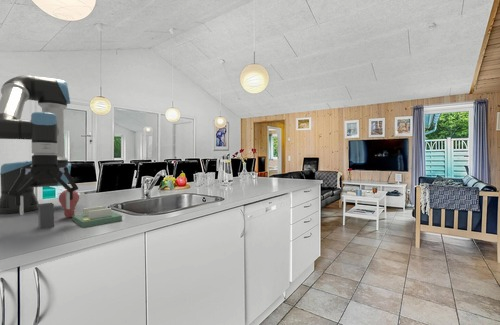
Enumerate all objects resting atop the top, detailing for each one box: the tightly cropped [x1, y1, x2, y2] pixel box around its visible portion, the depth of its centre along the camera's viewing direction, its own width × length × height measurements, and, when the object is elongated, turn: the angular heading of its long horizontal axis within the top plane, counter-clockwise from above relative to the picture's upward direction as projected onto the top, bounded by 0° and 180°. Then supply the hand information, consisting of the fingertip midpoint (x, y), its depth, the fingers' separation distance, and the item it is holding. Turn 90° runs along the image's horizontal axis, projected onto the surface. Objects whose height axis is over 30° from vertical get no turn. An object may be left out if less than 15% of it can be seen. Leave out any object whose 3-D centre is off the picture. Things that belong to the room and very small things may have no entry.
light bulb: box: [58, 189, 80, 218], centre depth 110 cm, size 7×7×12 cm
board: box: [72, 205, 123, 228], centre depth 105 cm, size 14×14×5 cm
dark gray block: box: [37, 202, 55, 230], centre depth 96 cm, size 4×4×8 cm
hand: (46, 211), depth 96 cm, fingers open, 13 cm apart
